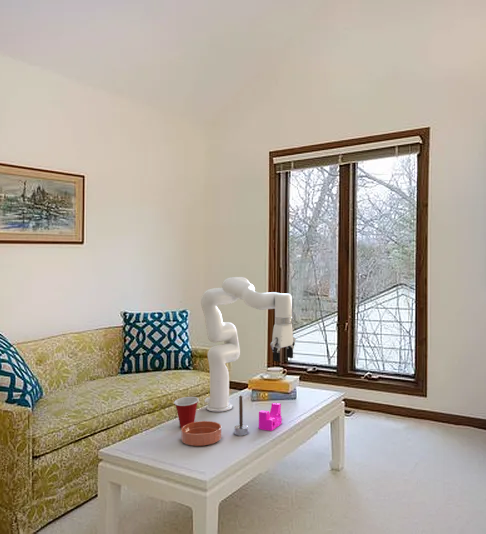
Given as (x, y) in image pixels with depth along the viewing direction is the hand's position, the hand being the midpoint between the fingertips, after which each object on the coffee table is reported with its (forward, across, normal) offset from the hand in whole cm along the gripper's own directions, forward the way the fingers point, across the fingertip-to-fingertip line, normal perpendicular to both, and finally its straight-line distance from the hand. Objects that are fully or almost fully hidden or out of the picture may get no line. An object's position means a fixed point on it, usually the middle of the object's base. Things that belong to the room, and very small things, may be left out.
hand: (283, 359), depth 218 cm
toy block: (+30, +2, -5) cm, 30 cm away
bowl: (+30, +34, -17) cm, 48 cm away
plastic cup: (+30, +27, -34) cm, 52 cm away
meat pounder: (+30, +18, -9) cm, 36 cm away
